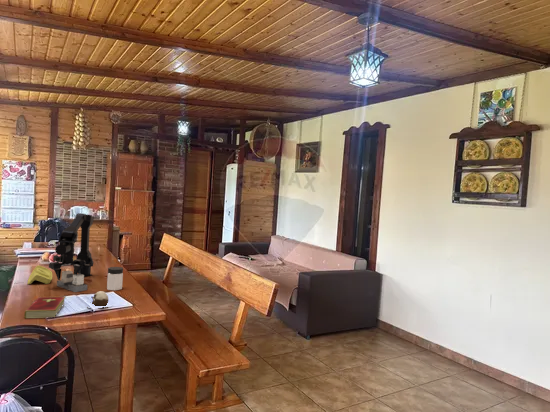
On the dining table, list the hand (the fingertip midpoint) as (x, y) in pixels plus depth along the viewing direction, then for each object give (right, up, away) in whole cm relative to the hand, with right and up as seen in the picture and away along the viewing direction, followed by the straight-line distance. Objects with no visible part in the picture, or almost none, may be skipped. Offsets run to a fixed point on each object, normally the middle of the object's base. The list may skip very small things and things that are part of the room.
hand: (66, 278), depth 223 cm
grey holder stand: (+4, -5, -3) cm, 7 cm away
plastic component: (-19, -3, +7) cm, 21 cm away
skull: (+32, -8, -30) cm, 45 cm away
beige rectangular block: (0, -3, 0) cm, 3 cm away
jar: (+26, -6, +3) cm, 27 cm away
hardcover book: (+13, -8, -42) cm, 45 cm away
